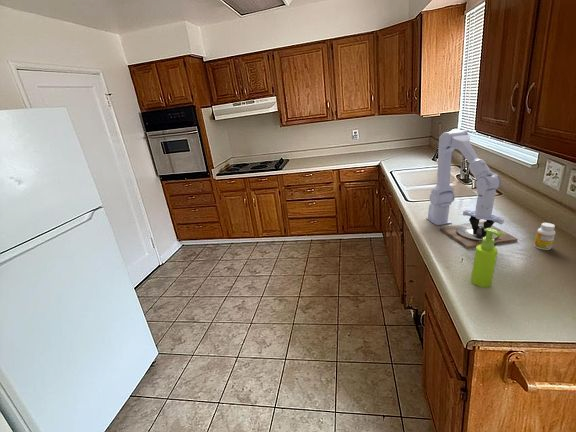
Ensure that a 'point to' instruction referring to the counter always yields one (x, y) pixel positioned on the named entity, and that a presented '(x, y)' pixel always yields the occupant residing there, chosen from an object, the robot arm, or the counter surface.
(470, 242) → the dial base
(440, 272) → the counter surface
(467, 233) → the dial
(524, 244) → the counter surface
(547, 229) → the supplement bottle
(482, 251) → the soap dispenser
